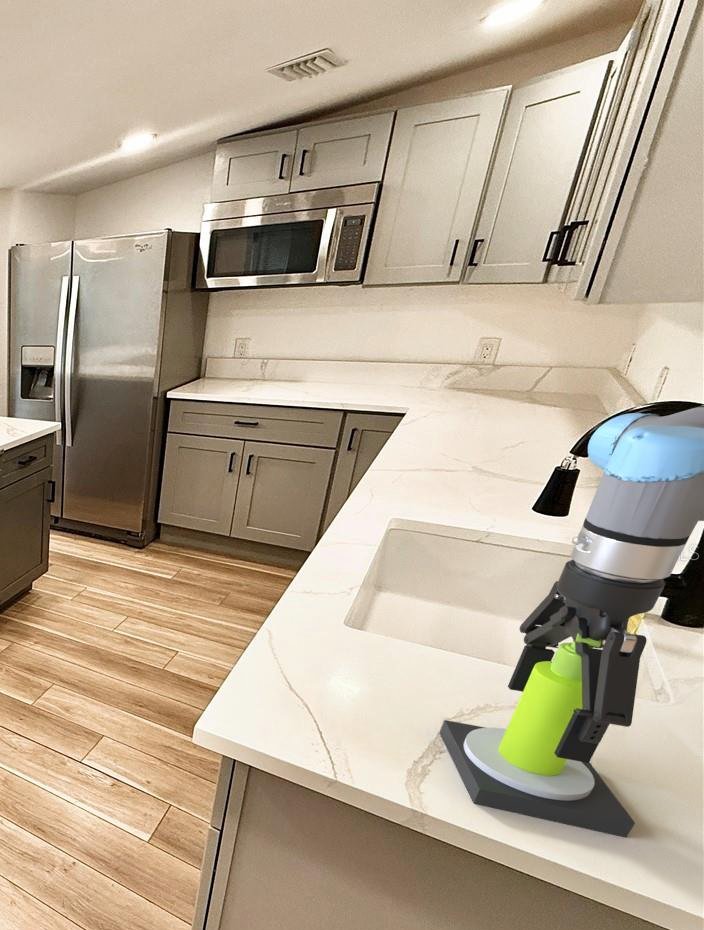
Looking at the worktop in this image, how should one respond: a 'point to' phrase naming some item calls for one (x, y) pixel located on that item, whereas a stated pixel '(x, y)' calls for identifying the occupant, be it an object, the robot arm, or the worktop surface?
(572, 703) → the soap dispenser
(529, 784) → the scale
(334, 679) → the worktop surface
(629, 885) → the worktop surface
